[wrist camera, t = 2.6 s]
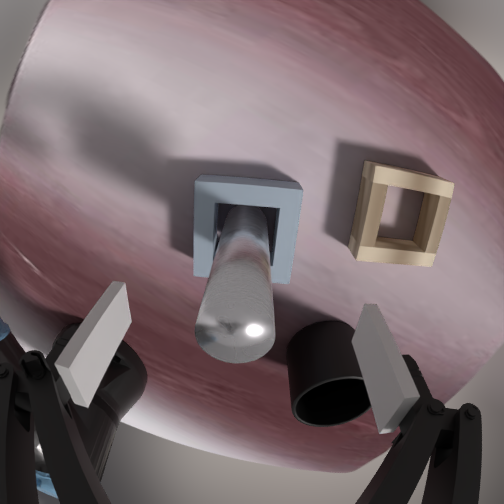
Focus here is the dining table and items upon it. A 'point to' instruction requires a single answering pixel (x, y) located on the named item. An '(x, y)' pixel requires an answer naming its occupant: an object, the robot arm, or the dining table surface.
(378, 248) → the block
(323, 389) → the mug
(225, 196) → the socket block
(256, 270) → the pin
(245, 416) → the dining table surface
